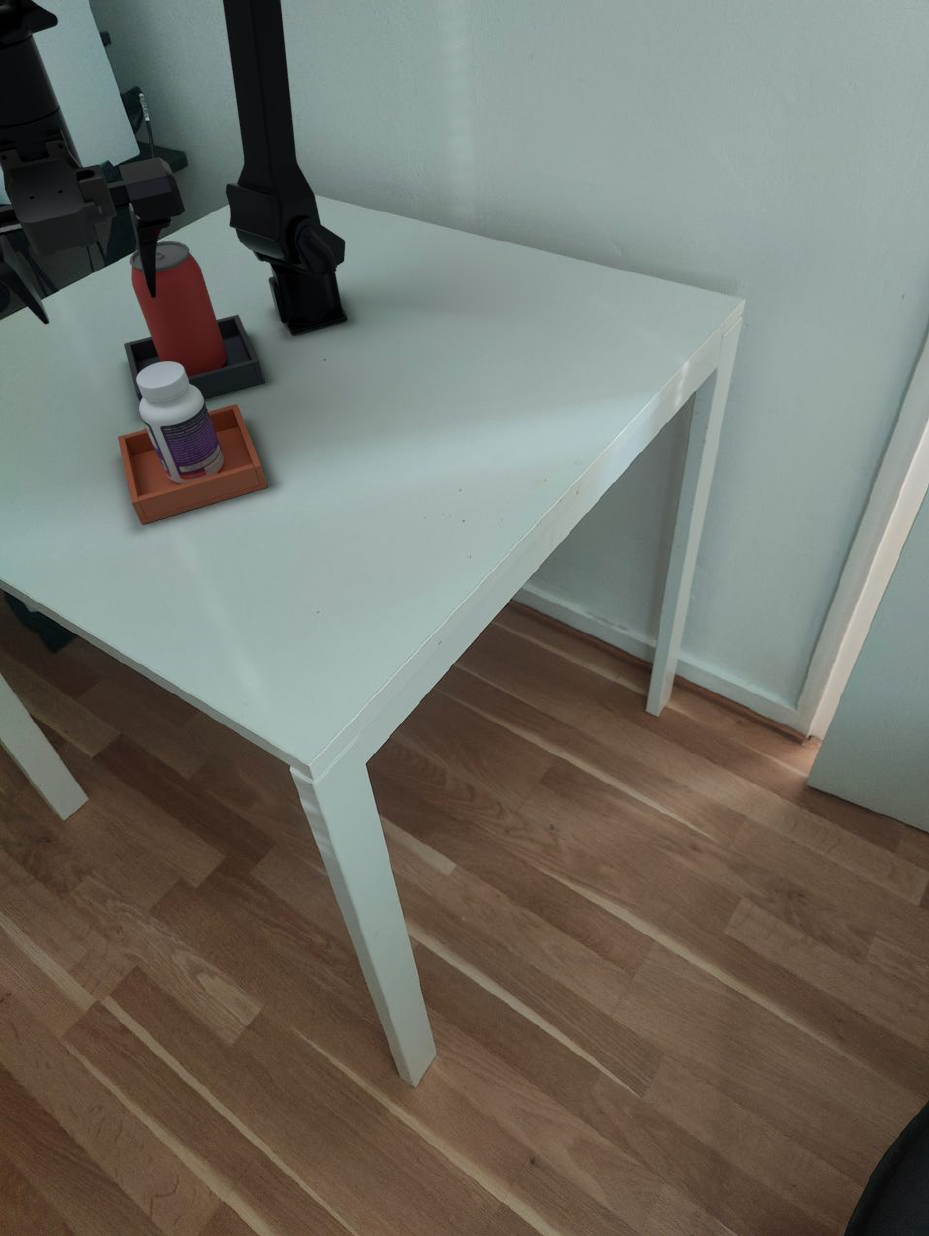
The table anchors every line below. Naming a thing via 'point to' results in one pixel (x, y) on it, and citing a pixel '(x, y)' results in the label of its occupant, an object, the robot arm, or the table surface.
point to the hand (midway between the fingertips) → (100, 308)
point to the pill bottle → (178, 423)
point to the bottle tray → (167, 498)
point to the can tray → (233, 376)
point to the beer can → (180, 310)
